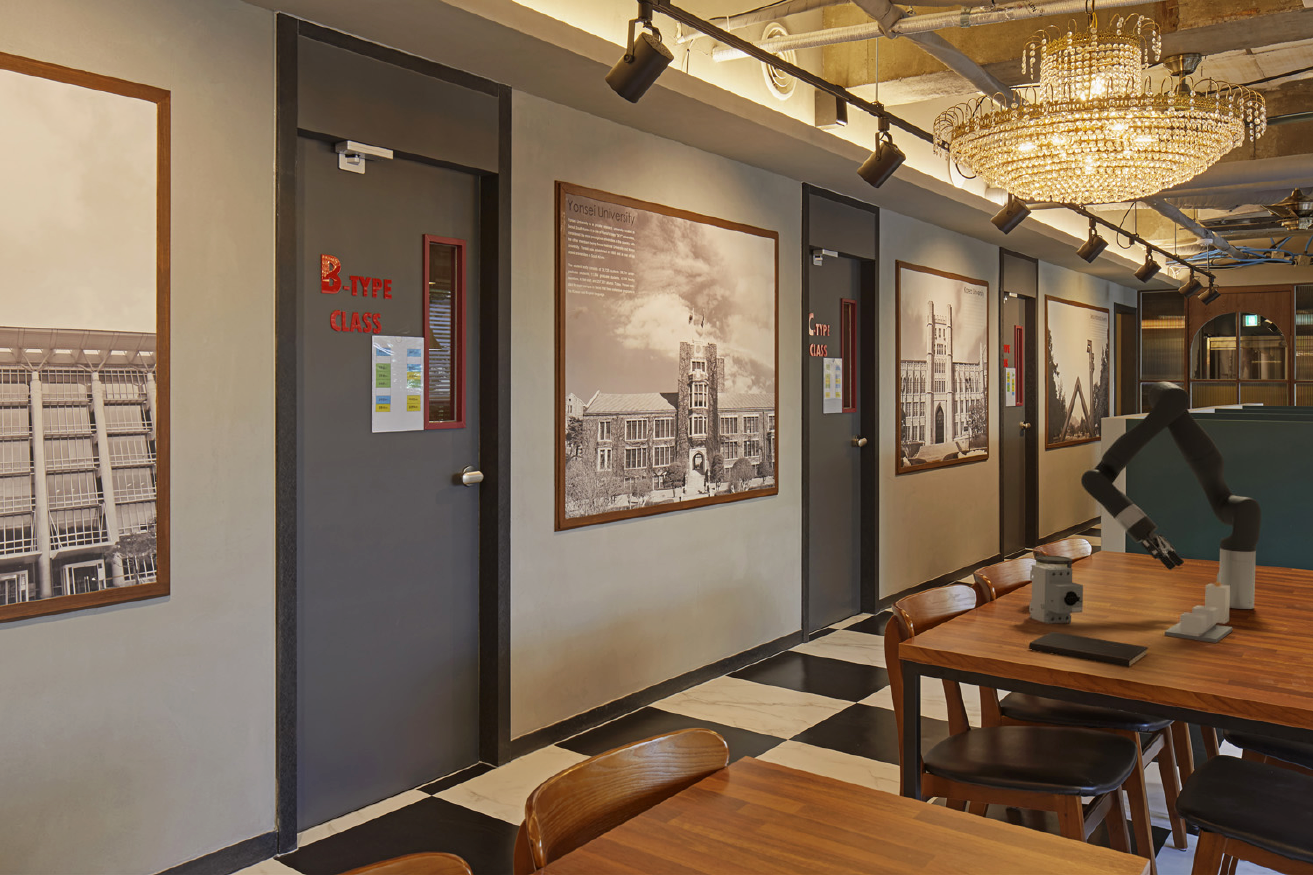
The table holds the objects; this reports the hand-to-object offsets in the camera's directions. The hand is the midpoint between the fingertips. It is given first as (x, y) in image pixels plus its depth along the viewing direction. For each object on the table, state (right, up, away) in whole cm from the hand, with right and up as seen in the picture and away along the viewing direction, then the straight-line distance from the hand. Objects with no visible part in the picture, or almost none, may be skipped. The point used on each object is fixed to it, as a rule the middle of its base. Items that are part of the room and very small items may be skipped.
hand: (1177, 566), depth 277 cm
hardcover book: (-44, -16, -42) cm, 63 cm away
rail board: (-6, -15, -21) cm, 27 cm away
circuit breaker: (-39, -15, -10) cm, 42 cm away
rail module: (+8, -15, -6) cm, 18 cm away
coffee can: (-30, -14, +15) cm, 36 cm away
